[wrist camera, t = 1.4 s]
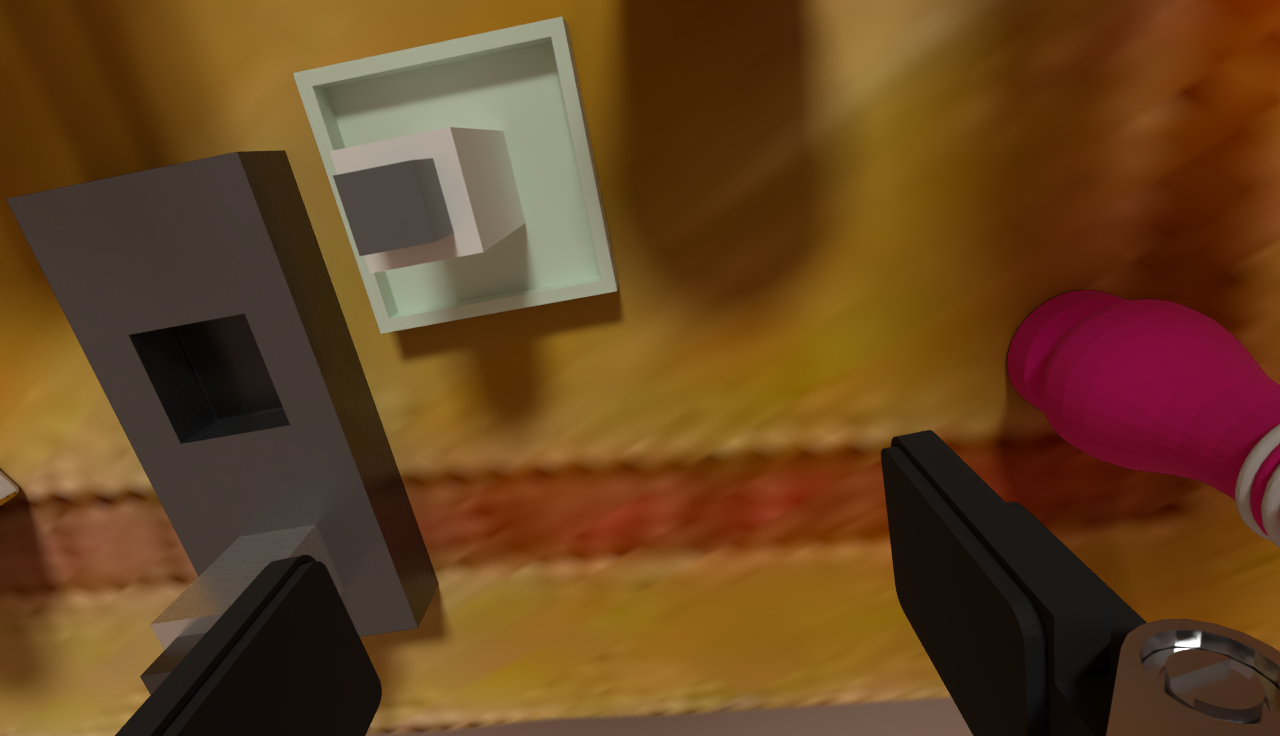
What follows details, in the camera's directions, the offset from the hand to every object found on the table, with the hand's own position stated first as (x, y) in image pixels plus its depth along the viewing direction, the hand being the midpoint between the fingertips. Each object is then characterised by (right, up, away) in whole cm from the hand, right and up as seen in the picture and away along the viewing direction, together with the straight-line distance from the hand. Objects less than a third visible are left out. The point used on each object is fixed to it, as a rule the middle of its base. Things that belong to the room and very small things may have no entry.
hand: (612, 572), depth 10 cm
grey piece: (-18, +1, +22) cm, 29 cm away
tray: (-7, +12, +18) cm, 23 cm away
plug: (-7, +11, +18) cm, 22 cm away
